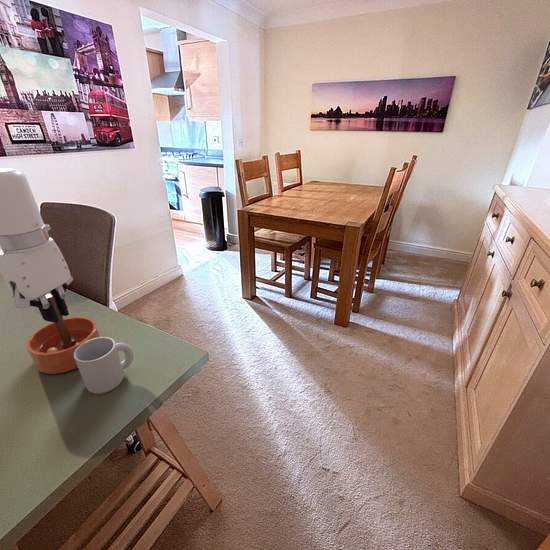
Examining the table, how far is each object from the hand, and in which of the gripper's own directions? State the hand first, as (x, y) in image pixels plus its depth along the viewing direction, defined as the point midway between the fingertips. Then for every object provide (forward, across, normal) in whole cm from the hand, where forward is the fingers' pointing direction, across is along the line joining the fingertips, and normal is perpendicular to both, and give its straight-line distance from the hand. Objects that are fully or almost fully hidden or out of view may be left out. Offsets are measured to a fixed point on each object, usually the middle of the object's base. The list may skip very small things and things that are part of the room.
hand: (57, 317), depth 65 cm
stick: (+8, 0, 0) cm, 8 cm away
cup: (+11, +3, +14) cm, 18 cm away
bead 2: (+9, -1, +1) cm, 9 cm away
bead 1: (+9, +2, -3) cm, 10 cm away
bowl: (+11, 0, -1) cm, 11 cm away
